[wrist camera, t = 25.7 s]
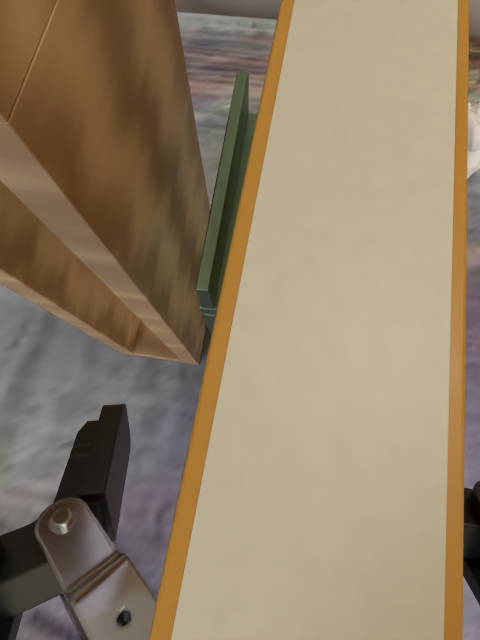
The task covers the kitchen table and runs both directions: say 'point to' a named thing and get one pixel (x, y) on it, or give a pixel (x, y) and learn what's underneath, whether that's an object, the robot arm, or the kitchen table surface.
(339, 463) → the book
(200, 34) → the kitchen table surface
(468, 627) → the kitchen table surface
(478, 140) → the white tied sack
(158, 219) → the tall stand
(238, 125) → the book rack
